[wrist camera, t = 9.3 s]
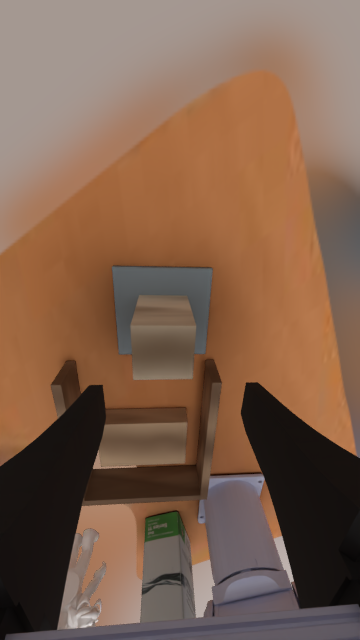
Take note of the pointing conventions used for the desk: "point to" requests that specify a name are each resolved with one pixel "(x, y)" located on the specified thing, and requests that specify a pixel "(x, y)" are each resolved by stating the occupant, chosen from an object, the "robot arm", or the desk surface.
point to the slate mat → (161, 282)
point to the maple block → (163, 338)
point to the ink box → (167, 570)
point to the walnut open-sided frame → (147, 447)
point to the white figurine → (80, 586)
